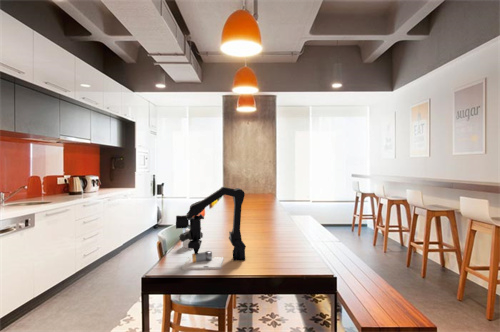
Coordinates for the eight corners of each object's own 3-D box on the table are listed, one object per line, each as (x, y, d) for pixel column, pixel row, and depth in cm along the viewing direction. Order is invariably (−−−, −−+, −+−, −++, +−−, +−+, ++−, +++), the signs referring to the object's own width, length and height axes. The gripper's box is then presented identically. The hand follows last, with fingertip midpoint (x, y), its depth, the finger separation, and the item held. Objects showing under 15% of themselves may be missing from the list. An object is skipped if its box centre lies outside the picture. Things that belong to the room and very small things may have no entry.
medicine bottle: (191, 244, 187) (190, 226, 186) (198, 246, 182) (198, 228, 182) (182, 247, 181) (182, 228, 181) (189, 249, 177) (189, 230, 176)
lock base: (223, 258, 160) (223, 256, 160) (221, 268, 146) (221, 266, 146) (188, 259, 160) (188, 257, 160) (182, 269, 146) (182, 267, 146)
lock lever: (211, 257, 159) (211, 250, 158) (212, 260, 155) (212, 253, 155) (192, 260, 155) (192, 253, 155) (193, 263, 151) (193, 255, 151)
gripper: (182, 222, 163) (183, 249, 164) (177, 233, 144) (178, 262, 145) (202, 222, 163) (203, 248, 165) (199, 232, 145) (200, 261, 146)
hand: (196, 254), depth 155 cm, fingers closed
